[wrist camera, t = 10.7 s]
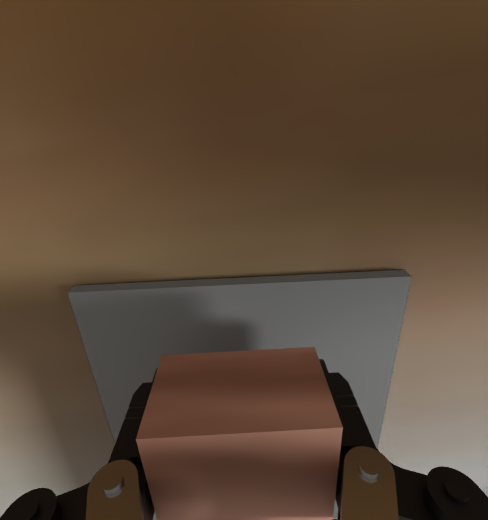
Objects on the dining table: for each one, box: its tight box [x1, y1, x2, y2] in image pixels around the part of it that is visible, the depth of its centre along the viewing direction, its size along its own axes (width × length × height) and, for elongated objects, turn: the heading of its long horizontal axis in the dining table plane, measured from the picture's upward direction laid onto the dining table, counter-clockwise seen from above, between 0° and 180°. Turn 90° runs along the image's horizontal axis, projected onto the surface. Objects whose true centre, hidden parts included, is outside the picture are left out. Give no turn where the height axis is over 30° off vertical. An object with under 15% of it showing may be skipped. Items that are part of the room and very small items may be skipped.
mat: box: [68, 270, 412, 520], centre depth 17 cm, size 17×14×1 cm
